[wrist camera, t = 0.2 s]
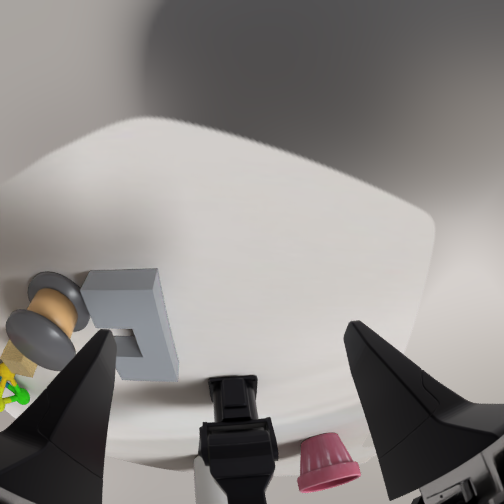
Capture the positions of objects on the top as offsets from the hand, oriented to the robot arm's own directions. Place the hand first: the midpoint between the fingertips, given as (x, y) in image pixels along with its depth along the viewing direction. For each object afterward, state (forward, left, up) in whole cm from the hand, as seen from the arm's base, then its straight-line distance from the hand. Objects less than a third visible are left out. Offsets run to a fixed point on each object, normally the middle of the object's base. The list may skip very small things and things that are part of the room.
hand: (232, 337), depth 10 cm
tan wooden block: (-17, +27, -15) cm, 35 cm away
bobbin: (-11, +19, -15) cm, 26 cm away
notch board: (-14, +10, -15) cm, 22 cm away
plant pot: (-59, -20, -15) cm, 64 cm away
